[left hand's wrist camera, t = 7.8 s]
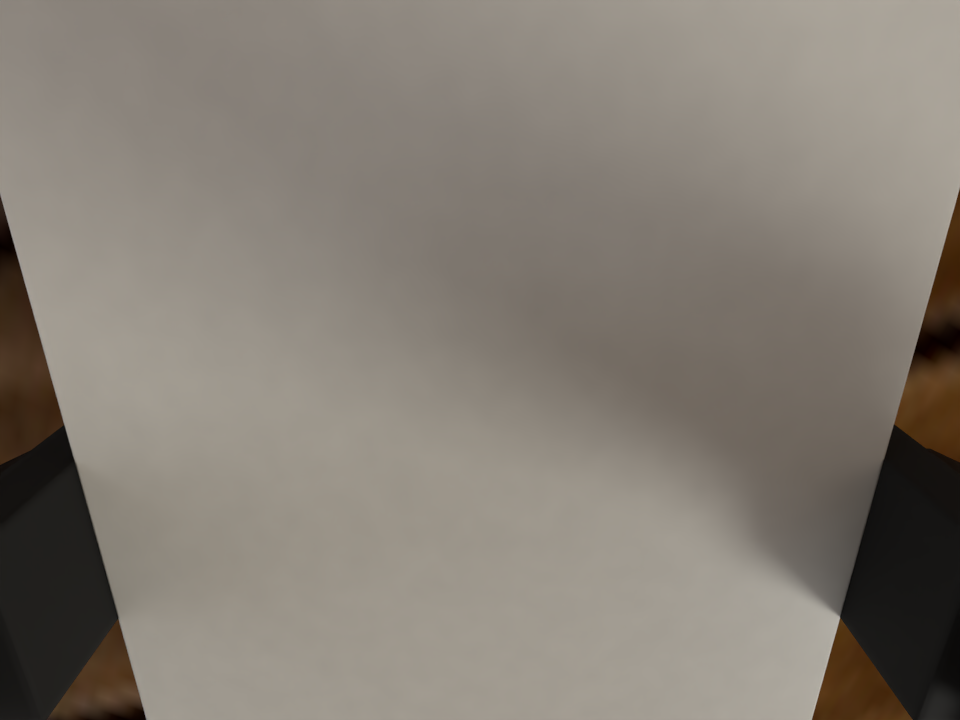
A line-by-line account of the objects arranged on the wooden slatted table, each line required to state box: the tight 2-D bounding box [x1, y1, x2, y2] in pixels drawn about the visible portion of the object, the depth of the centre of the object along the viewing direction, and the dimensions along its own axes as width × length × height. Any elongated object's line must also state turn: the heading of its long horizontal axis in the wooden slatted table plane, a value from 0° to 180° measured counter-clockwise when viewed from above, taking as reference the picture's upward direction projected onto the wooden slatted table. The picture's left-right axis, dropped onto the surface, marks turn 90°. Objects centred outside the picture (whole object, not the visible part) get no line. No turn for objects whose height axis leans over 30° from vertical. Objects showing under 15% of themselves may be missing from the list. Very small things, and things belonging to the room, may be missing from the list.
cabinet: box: [0, 0, 960, 720], centre depth 11 cm, size 20×11×9 cm, turn 0°
